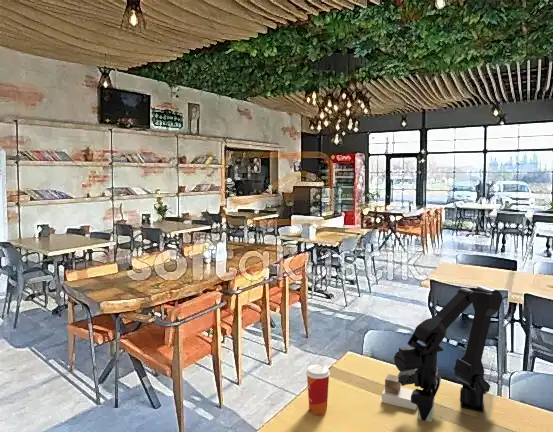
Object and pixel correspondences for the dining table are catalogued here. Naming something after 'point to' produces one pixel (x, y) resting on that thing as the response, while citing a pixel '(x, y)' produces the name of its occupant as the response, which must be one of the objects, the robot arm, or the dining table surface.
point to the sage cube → (430, 416)
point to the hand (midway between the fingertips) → (425, 413)
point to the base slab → (399, 398)
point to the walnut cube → (392, 384)
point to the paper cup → (318, 388)
